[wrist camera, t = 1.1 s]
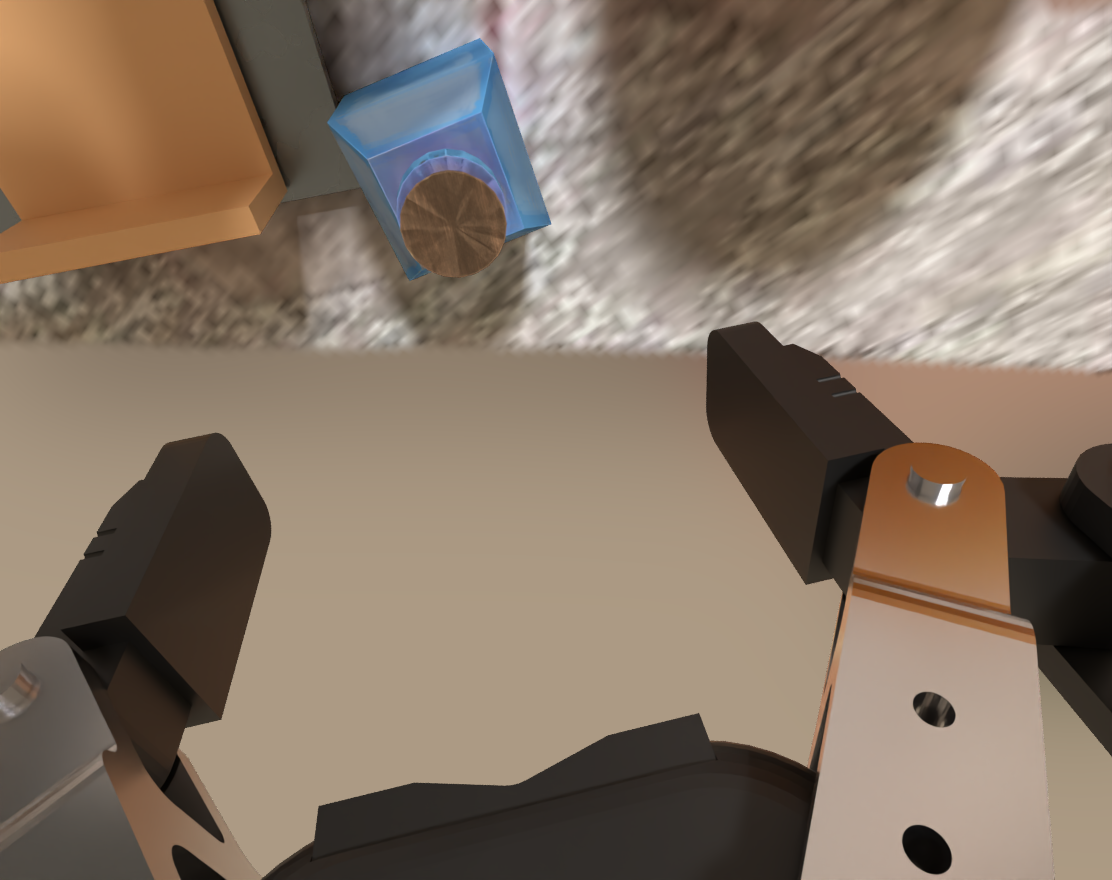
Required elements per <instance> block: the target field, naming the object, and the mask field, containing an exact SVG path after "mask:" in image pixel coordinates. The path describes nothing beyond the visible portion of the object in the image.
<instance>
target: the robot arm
mask: <svg viewBox="0 0 1112 880" xmlns="http://www.w3.org/2000/svg"><path fill="white" fill-rule="evenodd" d="M706 412H707V420H708V424H709V428H710V432H711V434H712V437H713V439H714V441H715V443H716V445H717V446H718V448H719V450H720V451H721V452H722V454H723V456H724V457H725V459H726V460H727V462H728V464H729V465H730V467H731V468H732V470H733V471H734V473H735V475H736V476H737V478H738V479H739V481H740V482H741V484H742V486H743V487H744V489H745V490H746V492H747V493H748V495H749V497H750V498H751V500H752V501H753V503H754V504H755V506H756V507H757V509H758V511H759V512H760V514H761V515H762V517H763V518H764V520H765V522H766V523H767V525H768V526H769V528H770V529H771V531H772V533H773V534H774V536H775V537H776V539H777V540H778V542H779V543H780V545H781V547H782V548H783V550H784V551H785V553H786V554H787V556H788V558H789V559H790V561H791V562H792V564H793V565H794V567H795V569H796V570H797V572H798V573H799V575H800V576H801V578H802V579H803V581H804V583H805V584H806V585H807V584H811V583H815V582H820V581H824V580H828V579H832V578H834V580H835V581H836V583H837V584H838V585H839V587H840V588H841V590H842V596H841V600H840V604H839V609H838V615H837V620H836V625H835V630H834V635H833V640H832V646H831V651H830V656H829V661H828V667H827V672H826V677H825V682H824V687H823V693H822V698H821V703H820V709H819V714H818V718H817V723H816V728H815V732H814V737H813V741H812V746H811V751H810V756H809V761H808V765H807V767H805V766H803V765H802V764H800V763H798V762H796V761H793V760H791V759H789V758H786V757H784V756H781V755H779V754H776V753H774V752H771V751H768V750H764V749H761V748H756V747H753V746H750V745H745V744H739V743H732V742H726V741H709V738H708V735H707V733H706V730H705V727H704V725H703V722H702V720H701V717H700V715H699V713H698V714H694V715H690V716H685V717H682V718H677V719H673V720H669V721H665V722H661V723H657V724H653V725H649V726H644V727H640V728H636V729H632V730H628V731H624V732H620V733H616V734H612V735H608V736H606V737H604V738H603V739H601V740H599V741H597V742H595V743H593V744H591V745H590V746H588V747H586V748H584V749H582V750H581V751H579V752H577V753H575V754H573V755H571V756H570V757H568V758H566V759H564V760H562V761H560V762H559V763H557V764H555V765H553V766H551V767H550V768H548V769H546V770H544V771H542V772H540V773H538V774H537V775H535V776H533V777H531V778H530V779H528V780H526V781H523V782H521V783H519V784H516V785H510V786H496V785H495V786H494V785H467V784H438V783H411V784H407V785H403V786H399V787H395V788H391V789H387V790H383V791H379V792H375V793H371V794H366V795H363V796H359V797H354V798H350V799H346V800H342V801H338V802H334V803H330V804H326V805H322V806H319V808H318V816H317V823H316V831H315V839H314V841H313V842H311V843H310V844H308V845H306V846H305V847H303V848H302V849H300V850H299V851H297V852H296V853H294V854H293V855H291V856H290V857H289V858H287V859H286V860H284V861H283V862H281V863H280V864H279V865H278V866H276V867H275V868H274V869H273V870H272V871H270V872H269V873H268V874H267V875H266V876H265V877H262V876H261V875H260V874H259V873H258V872H257V871H256V869H255V868H254V867H253V866H252V864H251V863H250V862H249V861H248V859H247V858H246V856H245V855H244V853H243V852H242V850H241V849H240V847H239V845H238V844H237V842H236V840H235V838H234V837H233V835H232V833H231V831H230V830H229V828H228V826H227V824H226V823H225V821H224V819H223V817H222V816H221V814H220V812H219V811H218V809H217V807H216V805H215V804H214V802H213V800H212V798H211V797H210V795H209V793H208V791H207V790H206V788H205V786H204V784H203V783H202V781H201V779H200V778H199V776H198V774H197V772H196V771H195V769H194V767H193V765H192V764H191V762H190V760H189V758H188V757H187V756H186V755H185V754H184V753H183V752H182V751H181V750H180V749H179V745H180V741H181V739H182V735H183V732H184V729H185V728H187V727H192V726H196V725H200V724H204V723H209V722H213V721H217V720H221V718H222V715H223V711H224V707H225V704H226V700H227V696H228V693H229V689H230V685H231V682H232V678H233V674H234V671H235V667H236V663H237V660H238V656H239V652H240V649H241V645H242V641H243V638H244V634H245V630H246V627H247V623H248V619H249V616H250V612H251V608H252V605H253V601H254V597H255V594H256V590H257V586H258V583H259V579H260V575H261V572H262V568H263V564H264V561H265V557H266V553H267V550H268V546H269V542H270V538H271V521H270V516H269V512H268V509H267V506H266V504H265V502H264V500H263V498H262V497H261V495H260V493H259V491H258V490H257V488H256V486H255V485H254V483H253V481H252V480H251V478H250V476H249V474H248V473H247V471H246V469H245V468H244V466H243V464H242V462H241V461H240V459H239V457H238V456H237V454H236V452H235V450H234V449H233V447H232V445H231V444H230V442H229V441H228V440H227V439H226V438H225V437H224V436H223V435H222V434H219V433H212V434H208V435H203V436H198V437H193V438H188V439H183V440H179V441H174V442H169V443H167V444H165V445H164V446H163V447H162V449H161V450H160V452H159V454H158V456H157V458H156V459H155V461H154V463H153V465H152V466H151V468H150V470H149V472H148V474H147V475H146V477H145V479H144V480H140V481H138V482H137V483H136V484H135V485H134V486H133V487H132V488H131V489H130V490H129V491H128V492H127V493H126V494H125V495H123V496H122V497H121V498H120V499H119V500H118V501H117V502H116V503H115V504H114V505H113V506H112V507H111V509H110V511H109V512H108V514H107V516H106V517H105V519H104V521H103V523H102V524H101V526H100V528H99V529H98V531H97V534H98V537H95V538H93V539H92V541H91V543H90V544H89V546H88V548H87V550H86V551H85V553H84V556H85V559H83V560H80V561H79V563H78V565H77V566H76V568H75V570H74V572H73V573H72V575H71V577H70V578H69V580H68V582H67V583H66V585H65V587H64V588H63V590H62V592H61V593H60V595H59V597H58V599H57V600H56V602H55V604H54V605H53V607H52V609H51V610H50V612H49V614H48V615H47V617H46V619H45V620H44V622H43V624H42V625H41V627H40V629H39V631H38V632H37V634H36V636H35V637H34V638H32V639H29V640H25V641H22V642H19V643H17V644H14V645H12V646H9V647H8V648H5V649H3V650H1V651H0V880H1055V876H1054V864H1053V850H1052V838H1051V825H1050V813H1049V800H1048V787H1047V775H1046V762H1045V749H1044V738H1043V737H1044V736H1043V724H1042V712H1041V699H1040V687H1039V675H1038V674H1039V673H1038V667H1039V669H1040V670H1041V671H1042V672H1043V673H1044V675H1045V676H1046V677H1047V678H1048V679H1049V681H1050V682H1051V683H1052V684H1053V686H1054V687H1055V688H1056V689H1057V690H1058V692H1059V693H1060V694H1061V695H1062V696H1063V698H1064V699H1065V700H1066V701H1067V702H1068V704H1069V705H1070V706H1071V707H1072V709H1073V710H1074V711H1075V712H1076V713H1077V715H1078V716H1079V717H1080V718H1081V720H1082V721H1083V722H1084V723H1085V724H1086V726H1087V727H1088V728H1089V729H1090V731H1091V732H1092V733H1093V734H1094V735H1095V737H1096V738H1097V739H1098V740H1099V741H1100V743H1101V744H1102V745H1103V746H1104V748H1105V749H1106V750H1107V751H1108V752H1109V754H1110V755H1111V756H1112V444H1104V445H1099V446H1096V447H1092V448H1090V449H1088V450H1086V451H1085V452H1083V453H1082V454H1081V455H1080V457H1079V458H1078V459H1077V461H1076V463H1075V465H1074V467H1073V469H1072V471H1071V473H1070V475H1069V477H1068V478H1012V477H999V476H998V475H997V473H996V472H995V471H994V470H993V469H992V468H991V467H990V466H988V465H987V464H986V463H984V462H983V461H982V460H980V459H978V458H977V457H975V456H972V455H971V454H969V453H966V452H964V451H961V450H959V449H956V448H952V447H949V446H945V445H939V444H932V443H914V442H912V441H911V440H910V439H909V438H908V437H907V436H906V435H905V434H904V433H903V432H902V431H901V430H900V429H899V428H898V427H896V426H895V425H894V424H893V423H892V422H891V421H890V420H889V419H888V418H887V417H886V416H885V415H884V414H883V413H881V412H880V411H879V410H878V409H877V408H876V407H875V406H874V405H873V404H872V403H871V402H870V401H869V400H868V399H866V398H865V397H864V396H863V395H862V394H861V393H857V392H856V388H855V387H854V386H852V384H850V383H849V382H848V381H847V380H846V379H845V378H841V377H840V373H839V372H838V371H836V370H835V369H834V368H833V367H832V366H831V365H830V364H829V363H828V362H827V361H826V360H825V359H824V358H823V357H822V356H819V355H817V354H815V353H813V352H810V351H808V350H806V349H804V348H801V347H799V346H797V345H795V344H790V345H785V346H783V345H782V344H781V343H780V342H779V341H778V340H777V339H776V338H775V337H774V336H773V335H772V334H771V333H770V332H769V331H768V330H767V329H766V328H765V327H764V326H763V325H762V324H760V323H759V322H750V323H746V324H741V325H736V326H731V327H726V328H722V329H717V330H713V331H711V332H710V334H709V337H708V344H707V392H706Z"/></svg>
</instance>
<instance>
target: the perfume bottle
mask: <svg viewBox="0 0 1112 880" xmlns="http://www.w3.org/2000/svg"><path fill="white" fill-rule="evenodd" d="M327 123H328V125H329V127H330V129H331V131H332V133H333V135H334V137H335V139H336V141H337V143H338V145H339V147H340V148H341V150H342V152H343V154H344V156H345V158H346V160H347V162H348V164H349V166H350V168H351V170H352V171H353V173H354V175H355V177H356V179H357V181H358V183H359V185H360V187H361V189H362V191H363V193H364V195H365V196H366V198H367V200H368V202H369V204H370V206H371V208H372V210H373V212H374V214H375V216H376V218H377V219H378V221H379V223H380V225H381V227H382V229H383V231H384V233H385V235H386V237H387V239H388V241H389V243H390V244H391V246H392V248H393V250H394V252H395V254H396V256H397V258H398V260H399V262H400V264H401V266H402V268H403V269H404V271H405V273H406V275H407V277H408V279H409V281H411V280H413V279H416V278H418V277H421V276H423V275H426V274H428V273H431V272H434V273H436V274H439V275H441V276H445V277H458V278H460V277H464V276H469V275H473V274H476V273H478V272H479V271H481V270H483V269H484V268H486V267H488V266H489V265H490V264H491V263H492V262H493V260H494V259H495V258H496V257H497V256H498V255H499V253H500V251H501V248H502V246H503V244H504V243H506V242H508V241H510V240H513V239H515V238H518V237H520V236H523V235H525V234H528V233H530V232H533V231H535V230H538V229H540V228H543V227H545V226H548V225H550V224H551V221H550V218H549V215H548V212H547V209H546V207H545V204H544V201H543V198H542V195H541V192H540V189H539V186H538V183H537V180H536V177H535V174H534V171H533V168H532V165H531V162H530V159H529V156H528V153H527V150H526V147H525V145H524V142H523V139H522V136H521V133H520V130H519V127H518V124H517V121H516V118H515V115H514V112H513V109H512V106H511V103H510V100H509V97H508V94H507V91H506V88H505V85H504V83H503V80H502V77H501V74H500V71H499V68H498V65H497V62H496V59H495V56H494V53H493V52H492V51H491V50H490V49H489V47H488V46H487V45H486V44H485V43H484V42H483V41H482V40H481V39H480V38H479V39H477V40H474V41H472V42H470V43H467V44H465V45H463V46H460V47H458V48H456V49H453V50H451V51H448V52H446V53H444V54H441V55H439V56H437V57H434V58H432V59H430V60H427V61H425V62H423V63H420V64H418V65H415V66H413V67H411V68H408V69H406V70H404V71H401V72H399V73H397V74H394V75H392V76H390V77H387V78H385V79H382V80H380V81H378V82H375V83H373V84H371V85H368V86H366V87H364V88H361V89H359V90H356V91H354V92H352V93H349V94H347V95H345V96H344V97H343V99H342V100H341V102H340V103H339V105H338V107H337V108H336V110H335V111H334V113H333V114H332V116H331V117H330V119H329V121H328V122H327Z"/></svg>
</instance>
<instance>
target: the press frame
mask: <svg viewBox="0 0 1112 880" xmlns="http://www.w3.org/2000/svg"><path fill="white" fill-rule="evenodd" d="M213 1H214V4H215V6H216V9H217V11H218V14H219V16H220V19H221V22H222V24H223V27H224V29H225V32H226V34H227V37H228V39H229V42H230V45H231V47H232V50H233V52H234V55H235V57H236V60H237V63H238V65H239V68H240V70H241V73H242V75H243V78H244V80H245V83H246V86H247V88H248V91H249V93H250V96H251V98H252V101H253V104H254V106H255V109H256V111H257V114H258V116H259V119H260V121H261V124H262V127H263V129H264V132H265V134H266V137H267V139H268V142H269V145H270V147H271V150H272V152H273V155H274V157H275V160H276V162H277V165H278V168H279V170H280V173H281V175H282V178H283V180H284V183H285V186H286V188H287V192H286V194H285V196H284V197H283V199H282V201H281V202H280V203H283V202H288V201H293V200H299V199H304V198H309V197H314V196H320V195H325V194H330V193H336V192H341V191H346V190H351V189H357V188H361V187H360V185H359V183H358V181H357V179H356V177H355V175H354V173H353V171H352V170H351V168H350V166H349V164H348V162H347V160H346V158H345V156H344V154H343V152H342V150H341V148H340V147H339V145H338V143H337V141H336V139H335V137H334V135H333V133H332V131H331V129H330V127H329V125H328V123H327V122H328V121H329V119H330V117H331V116H332V114H333V113H334V111H335V110H336V108H337V107H338V103H337V100H336V97H335V94H334V91H333V87H332V84H331V81H330V78H329V75H328V71H327V68H326V65H325V62H324V59H323V56H322V52H321V49H320V46H319V43H318V40H317V37H316V33H315V30H314V27H313V24H312V21H311V17H310V14H309V11H308V8H307V5H306V2H305V0H213ZM20 221H22V220H21V218H20V217H19V215H18V214H17V212H16V211H15V209H14V208H13V206H12V205H11V203H10V202H9V200H8V199H7V197H6V196H5V194H4V193H3V191H2V190H1V188H0V233H2V232H4V231H5V230H7V229H9V228H10V227H12V226H14V225H15V224H17V223H18V222H20Z"/></svg>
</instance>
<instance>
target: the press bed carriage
mask: <svg viewBox="0 0 1112 880" xmlns="http://www.w3.org/2000/svg"><path fill="white" fill-rule="evenodd" d="M0 188H1V190H2V191H3V193H4V194H5V196H6V197H7V199H8V200H9V202H10V203H11V205H12V206H13V208H14V209H15V211H16V212H17V214H18V215H19V217H20V218H21V220H22V221H20V222H18V223H17V224H15V225H14V226H12V227H10V228H9V229H7V230H5V231H4V232H2V233H0V284H2V283H8V282H13V281H18V280H23V279H28V278H34V277H39V276H44V275H49V274H55V273H60V272H65V271H70V270H75V269H81V268H86V267H91V266H96V265H102V264H107V263H112V262H117V261H122V260H128V259H133V258H138V257H143V256H149V255H154V254H159V253H164V252H170V251H175V250H180V249H185V248H190V247H196V246H201V245H206V244H211V243H217V242H222V241H227V240H232V239H237V238H243V237H248V236H253V235H258V234H261V233H262V231H263V230H264V228H265V226H266V225H267V223H268V221H269V220H270V218H271V217H272V215H273V213H274V212H275V210H276V209H277V207H278V205H279V204H280V202H281V201H282V199H283V197H284V196H285V194H286V192H287V188H286V186H285V183H284V180H283V178H282V175H281V173H280V170H279V168H278V165H277V162H276V160H275V157H274V155H273V152H272V150H271V147H270V145H269V142H268V139H267V137H266V134H265V132H264V129H263V127H262V124H261V121H260V119H259V116H258V114H257V111H256V109H255V106H254V104H253V101H252V98H251V96H250V93H249V91H248V88H247V86H246V83H245V80H244V78H243V75H242V73H241V70H240V68H239V65H238V63H237V60H236V57H235V55H234V52H233V50H232V47H231V45H230V42H229V39H228V37H227V34H226V32H225V29H224V27H223V24H222V22H221V19H220V16H219V14H218V11H217V9H216V6H215V4H214V1H213V0H0Z"/></svg>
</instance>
